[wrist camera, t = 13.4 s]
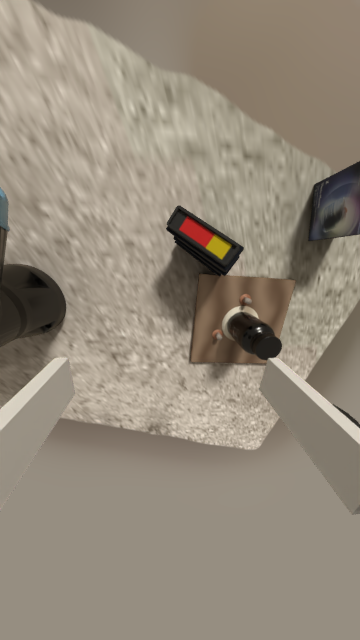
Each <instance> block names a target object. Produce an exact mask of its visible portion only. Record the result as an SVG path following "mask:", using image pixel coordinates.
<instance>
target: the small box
mask: <svg viewBox="0 0 360 640" xmlns="http://www.w3.org/2000/svg"><path fill="white" fill-rule="evenodd" d="M359 234H360V161H359V162H357V163H355V164H353V165H351V166H349V167H347V168H346V169H344V170H342V171H340V172H338V173H336V174H334V175H332V176H330V177H328V178H326V179H324V180H322V181H320V182H318V183H316V184H315V186H314V196H313V205H312V214H311V223H310V232H309V241H313V240H321V239H329V238H337V237H345V236H352V235H359Z"/></svg>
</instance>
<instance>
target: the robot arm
mask: <svg viewBox="0 0 360 640" xmlns="http://www.w3.org/2000/svg"><path fill="white" fill-rule="evenodd" d="M9 230H10V229H9V226H8V199H7V196H6V194H5V193H4V191H3V190H2V189H1V188H0V347H1V346H3V345H5V344H7V343H9V342H10V341H12V340H14V339H17V338H23V337H29V336H36V335H40V334H44V333H46V332H48V331H50V330H52V329H53V328H55V327H56V326H58V325H59V324H60V322H61V321H62V320H63V318H64V315H65V311H66V304H65V299H64V296H63V293H62V291H61V289H60V288H59V286H58V285H57V284H56V282H55V281H54V280H53V279H52V278H51V277H50V276H48V275H47V274H46V273H44V272H43V271H41V270H39V269H37V268H34V267H32V266H28V265H23V264H6V265H4V257H5V248H6V240H7V232H8V231H9ZM259 390H260V391H261V392H262V394H263V395H264V396H265V398H266V399H267V400H268V402H269V403H270V404H271V406H272V407H273V409H274V410H275V411H276V413H277V414H278V415H279V417H280V418H281V419H282V421H283V422H284V423H285V425H286V426H287V427H288V429H289V430H290V432H291V433H292V434H293V435H294V437H295V438H296V440H297V441H298V442H299V444H300V445H301V446H302V448H303V449H304V450H305V452H306V453H307V455H308V456H309V457H310V458H311V460H312V461H313V463H314V464H315V465H316V467H317V468H318V469H319V471H320V472H321V473H322V475H323V476H324V477H325V479H326V480H327V482H328V483H329V484H330V486H331V487H332V488H333V490H334V491H335V492H336V494H337V495H338V496H339V498H340V499H341V500H342V502H343V503H344V504H345V506H346V507H347V509H348V510H349V511H350V512H351V514H352V515H354V514H360V424H359V423H358V422H357V421H356V420H355V419H353V417H351V416H350V415H349V414H348V413H346V412H345V411H343V410H341V409H340V408H338V407H337V406H335V405H333V404H331V403H329V402H328V401H327V400H326V399H325V398H324V397H323V396H321V395H320V394H319V393H318V392H317V391H316V390H315V389H313V388H312V387H311V386H310V385H309V384H308V383H306V382H305V381H304V380H303V379H302V378H301V377H300V376H298V375H297V374H296V373H295V372H294V371H293V370H291V369H290V368H289V367H288V366H287V365H286V364H284V363H283V362H282V361H281V360H280V359H279V358H268V360H267V364H266V367H265V371H264V374H263V377H262V381H261V384H260V388H259ZM74 395H75V389H74V383H73V378H72V373H71V368H70V362H69V358H54V359H53V360H52V361H51V362H50V363H49V364H48V365H47V366H46V367H45V368H44V369H43V370H42V371H41V372H39V373H38V374H37V375H36V376H35V377H34V378H33V379H32V380H31V381H30V382H29V383H28V384H27V385H26V386H25V387H23V388H22V389H21V390H20V391H19V392H18V393H17V394H16V395H15V396H14V397H13V398H12V399H11V400H10V401H8V402H7V403H6V404H5V405H4V406H3V407H2V408H1V409H0V510H1V508H2V507H3V506H4V504H5V502H6V501H7V499H8V498H9V496H10V495H11V493H12V491H13V490H14V488H15V487H16V485H17V484H18V482H19V481H20V479H21V477H22V476H23V474H24V473H25V471H26V470H27V468H28V467H29V465H30V463H31V462H32V460H33V459H34V457H35V456H36V454H37V452H38V451H39V449H40V448H41V446H42V445H43V443H44V442H45V440H46V438H47V437H48V435H49V434H50V432H51V431H52V429H53V427H54V426H55V424H56V423H57V421H58V420H59V418H60V417H61V415H62V413H63V412H64V410H65V409H66V407H67V406H68V404H69V402H70V401H71V399H72V398H73V396H74Z"/></svg>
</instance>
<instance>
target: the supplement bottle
mask: <svg viewBox="0 0 360 640" xmlns="http://www.w3.org/2000/svg"><path fill="white" fill-rule="evenodd" d="M227 330H228V332H229V334H230V335H231V336H232V338H233V339H234V340H235V341H236V342H237V343H238V344H239V345H240V347H241V348H242V349H243V350H244V351H245V352H247V353H248V354H251V355H256V356H257V357H258V358H259V359H261V360H268V358H274V357H276V356H277V355H278V354H279V353H280V351H281V349H282V348H281V347H282V344H281V341H280V339H279V338H277V337H276V336H275V333H274V330H273V329H272V327H270V326H269V325H268V324H266V323H265V322H263V321H261V320H260V319H258V318H256V317H255V316H253V315H251V314H250V313H247V312H238V313H236V314H234V315H233V316H231V318H230V319H229V321H228V323H227Z"/></svg>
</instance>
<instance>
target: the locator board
mask: <svg viewBox="0 0 360 640" xmlns="http://www.w3.org/2000/svg"><path fill="white" fill-rule="evenodd" d="M295 283H296V280H289V279H274V278H259V277H244V276H228V275H225V276H224V275H221V276H218V275H213V274H199V280H198V290H197V300H196V309H195V319H194V329H193V339H192V349H191V362H223V363H267V360H261V359H259V358H258V357H257V356H256V355H251V354H248V353H247V352H245V351H244V350H243V349H242V348H241V347H240V345H239V344H238V343H237V342H236V341H235V340H234V339H233V338H232V336H231V335H230V334H229V332H228V330H227V323H228V321H229V319H230V318H231V316H233V315H234V314H236V313H238V312H247V313H250V314H251V315H253V316H255V317H256V318H258V319H260V320H261V321H263V322H265V323H266V324H268V325H269V326H270V327H272V329H273V330H274V333H275V336H276V337H277V338H279V337H280V334H281V330H282V327H283V324H284V320H285V317H286V313H287V310H288V307H289V303H290V300H291V296H292V293H293V290H294V286H295Z"/></svg>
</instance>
